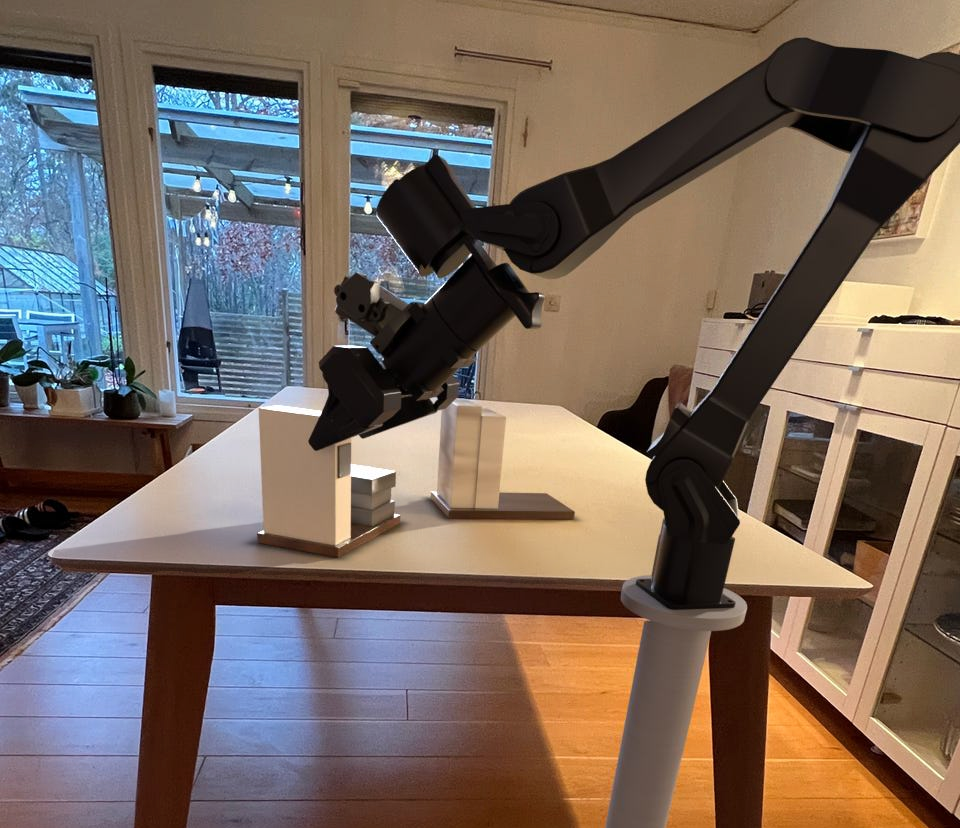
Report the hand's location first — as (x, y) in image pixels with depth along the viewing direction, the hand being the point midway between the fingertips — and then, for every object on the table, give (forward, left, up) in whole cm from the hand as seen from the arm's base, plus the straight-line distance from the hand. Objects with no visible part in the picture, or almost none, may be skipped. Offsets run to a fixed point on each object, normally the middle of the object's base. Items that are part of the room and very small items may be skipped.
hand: (337, 440), depth 67 cm
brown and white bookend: (+17, -23, -11) cm, 31 cm away
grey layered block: (+6, 0, -11) cm, 13 cm away
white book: (+2, +3, -10) cm, 10 cm away
